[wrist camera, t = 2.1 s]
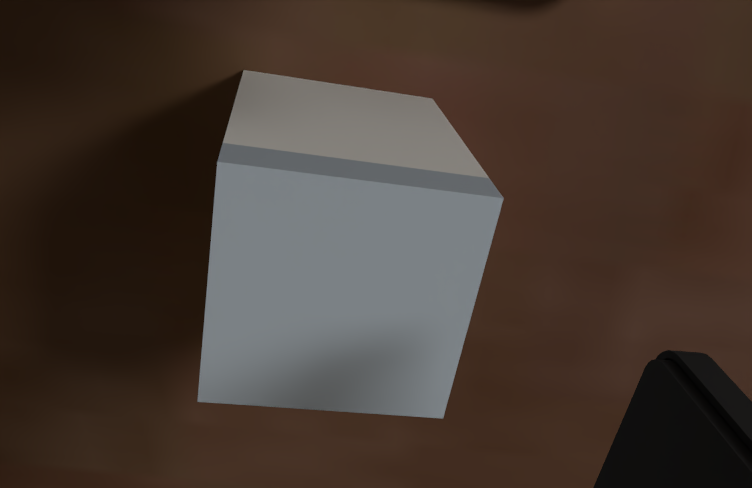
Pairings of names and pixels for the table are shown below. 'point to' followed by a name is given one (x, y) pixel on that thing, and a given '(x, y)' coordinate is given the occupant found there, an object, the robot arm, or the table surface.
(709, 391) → the robot arm
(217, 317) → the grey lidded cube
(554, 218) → the table surface
